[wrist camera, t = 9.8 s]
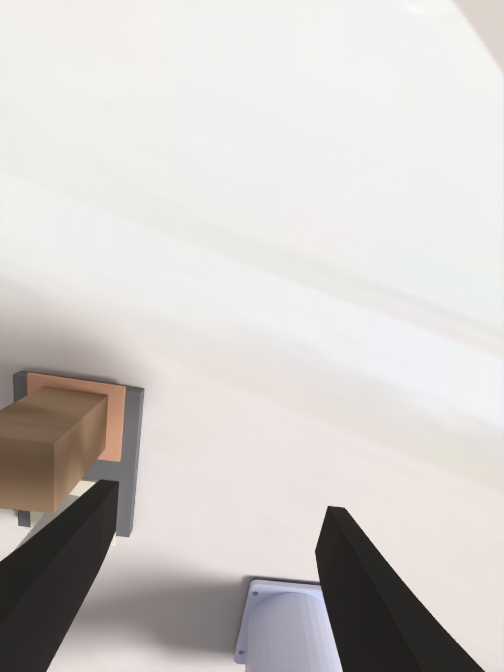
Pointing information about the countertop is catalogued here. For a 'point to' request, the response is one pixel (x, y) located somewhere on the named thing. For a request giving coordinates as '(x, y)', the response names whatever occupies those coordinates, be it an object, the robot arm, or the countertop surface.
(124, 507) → the mat
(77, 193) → the countertop surface
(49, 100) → the countertop surface
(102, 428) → the walnut block
